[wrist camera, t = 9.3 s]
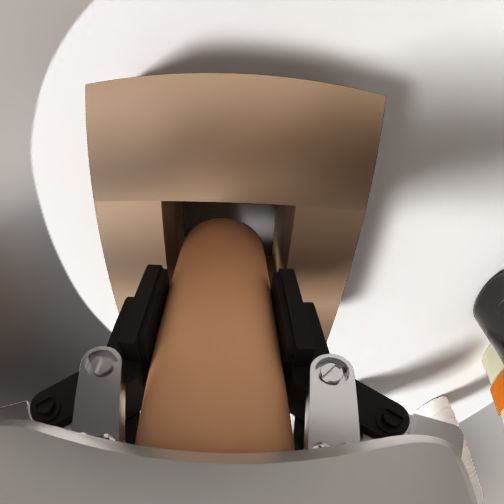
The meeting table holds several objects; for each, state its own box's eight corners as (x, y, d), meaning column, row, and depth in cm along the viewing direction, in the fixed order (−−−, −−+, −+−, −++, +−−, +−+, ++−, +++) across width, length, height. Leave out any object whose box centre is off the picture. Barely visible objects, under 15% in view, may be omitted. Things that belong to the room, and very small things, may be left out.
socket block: (127, 82, 13) (85, 84, 9) (345, 91, 14) (386, 95, 10) (149, 308, 21) (134, 359, 17) (305, 313, 22) (317, 364, 18)
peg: (178, 216, 13) (95, 524, 3) (268, 219, 13) (330, 535, 3) (183, 287, 15) (148, 536, 5) (260, 290, 15) (289, 541, 5)
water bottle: (414, 406, 35) (455, 540, 14) (449, 390, 34) (496, 517, 13) (409, 424, 39) (442, 538, 18) (441, 410, 38) (477, 520, 17)
